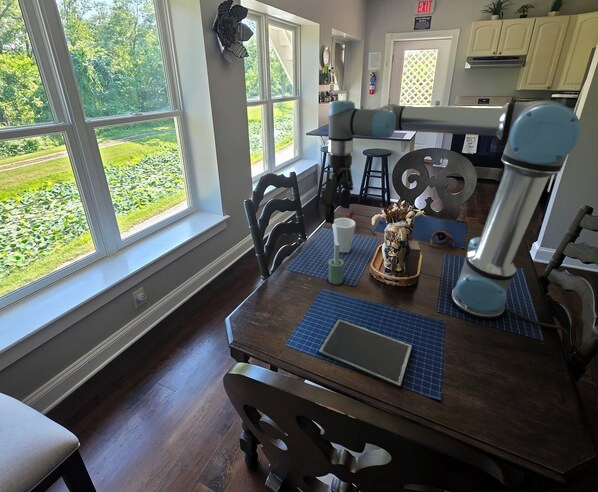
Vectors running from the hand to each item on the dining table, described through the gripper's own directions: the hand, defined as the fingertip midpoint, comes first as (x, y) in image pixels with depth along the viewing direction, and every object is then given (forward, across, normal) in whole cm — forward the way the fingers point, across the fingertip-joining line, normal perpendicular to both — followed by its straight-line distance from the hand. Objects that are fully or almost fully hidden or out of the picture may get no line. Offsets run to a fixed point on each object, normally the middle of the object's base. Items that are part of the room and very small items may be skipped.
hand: (337, 215), depth 108 cm
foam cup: (+27, -22, -6) cm, 35 cm away
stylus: (+26, 0, 0) cm, 26 cm away
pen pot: (+27, 0, 0) cm, 27 cm away
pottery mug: (+27, -45, +31) cm, 61 cm away
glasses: (+27, -48, -6) cm, 55 cm away
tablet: (+27, +26, +20) cm, 42 cm away
